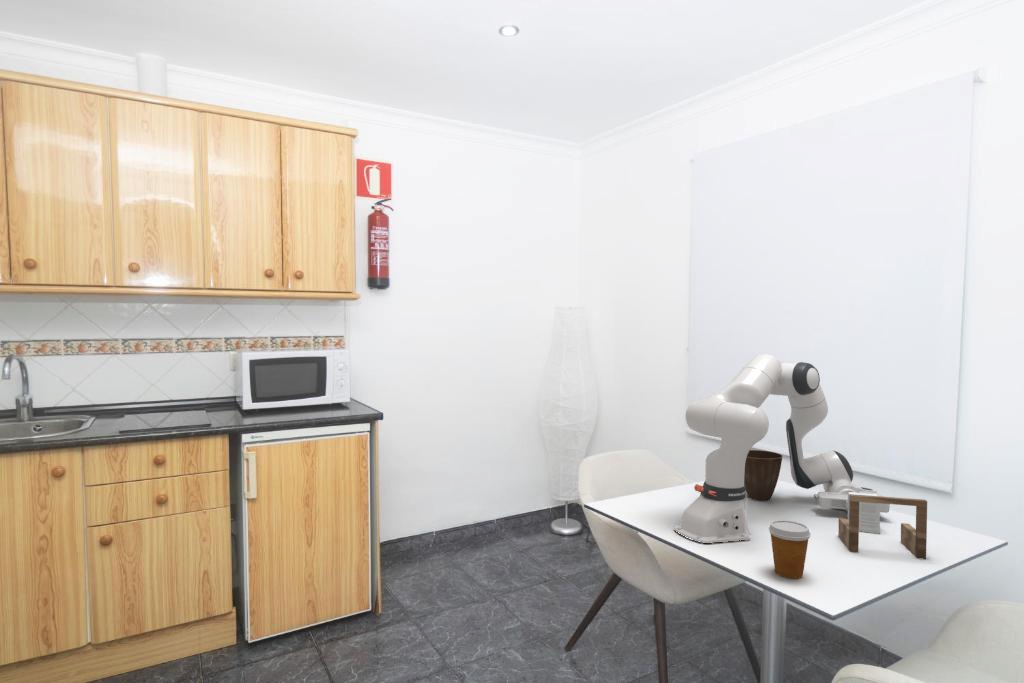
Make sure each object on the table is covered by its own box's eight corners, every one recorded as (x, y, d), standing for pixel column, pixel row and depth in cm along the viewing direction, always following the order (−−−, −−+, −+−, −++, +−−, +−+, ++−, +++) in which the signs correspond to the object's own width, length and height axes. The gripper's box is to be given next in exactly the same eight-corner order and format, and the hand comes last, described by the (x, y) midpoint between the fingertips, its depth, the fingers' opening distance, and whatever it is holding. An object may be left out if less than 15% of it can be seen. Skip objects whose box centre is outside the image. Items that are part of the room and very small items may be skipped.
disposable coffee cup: (791, 584, 138) (791, 535, 138) (759, 569, 147) (760, 522, 146) (819, 577, 142) (819, 529, 142) (786, 563, 151) (787, 517, 150)
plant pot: (729, 497, 208) (729, 453, 208) (748, 489, 218) (748, 447, 218) (770, 507, 197) (771, 460, 197) (788, 498, 207) (789, 454, 207)
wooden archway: (838, 536, 170) (839, 484, 169) (908, 542, 165) (909, 489, 165) (850, 551, 158) (851, 495, 158) (926, 559, 153) (927, 501, 153)
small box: (877, 528, 177) (877, 494, 177) (880, 534, 172) (880, 499, 172) (847, 524, 180) (847, 491, 180) (849, 530, 175) (849, 495, 175)
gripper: (812, 485, 196) (822, 496, 183) (880, 490, 190) (896, 502, 177) (811, 503, 196) (821, 516, 183) (880, 509, 191) (895, 522, 177)
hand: (859, 509), depth 180 cm, fingers closed
